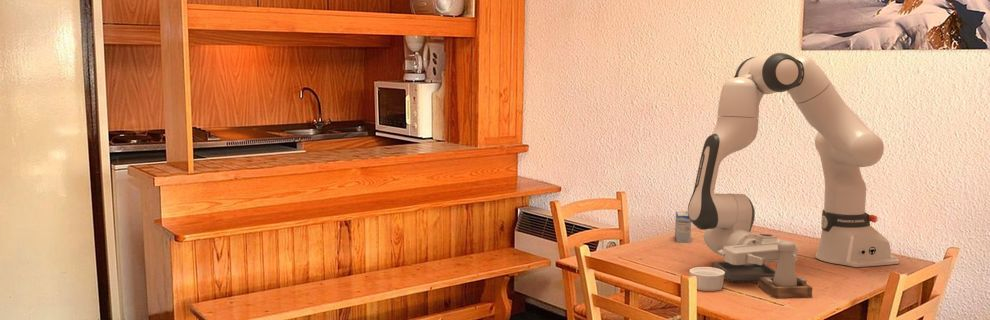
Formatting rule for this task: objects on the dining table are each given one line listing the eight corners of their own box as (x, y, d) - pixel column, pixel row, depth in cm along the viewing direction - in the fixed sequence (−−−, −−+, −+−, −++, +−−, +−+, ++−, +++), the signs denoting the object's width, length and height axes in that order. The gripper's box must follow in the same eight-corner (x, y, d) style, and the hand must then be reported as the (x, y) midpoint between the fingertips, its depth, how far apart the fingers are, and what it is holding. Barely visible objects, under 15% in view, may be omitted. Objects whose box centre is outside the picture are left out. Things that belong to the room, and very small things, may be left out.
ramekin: (702, 293, 218) (703, 277, 218) (682, 284, 226) (682, 268, 226) (731, 289, 222) (732, 273, 221) (709, 281, 230) (710, 265, 229)
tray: (761, 268, 242) (761, 261, 242) (780, 281, 229) (781, 274, 229) (713, 269, 241) (714, 262, 241) (730, 282, 228) (730, 275, 228)
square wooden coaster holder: (795, 286, 225) (795, 273, 225) (811, 297, 215) (812, 284, 215) (758, 286, 224) (758, 274, 224) (773, 298, 214) (773, 285, 214)
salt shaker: (797, 295, 216) (800, 245, 215) (774, 294, 217) (776, 243, 216) (794, 289, 222) (797, 239, 220) (771, 288, 223) (773, 238, 221)
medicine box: (674, 236, 282) (675, 210, 280) (688, 237, 281) (689, 211, 280) (676, 242, 274) (677, 215, 273) (690, 242, 273) (691, 215, 272)
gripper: (713, 239, 230) (744, 251, 217) (778, 234, 237) (812, 245, 224) (712, 262, 231) (743, 276, 218) (777, 256, 238) (810, 269, 225)
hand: (778, 260), depth 221 cm, fingers open, 8 cm apart
